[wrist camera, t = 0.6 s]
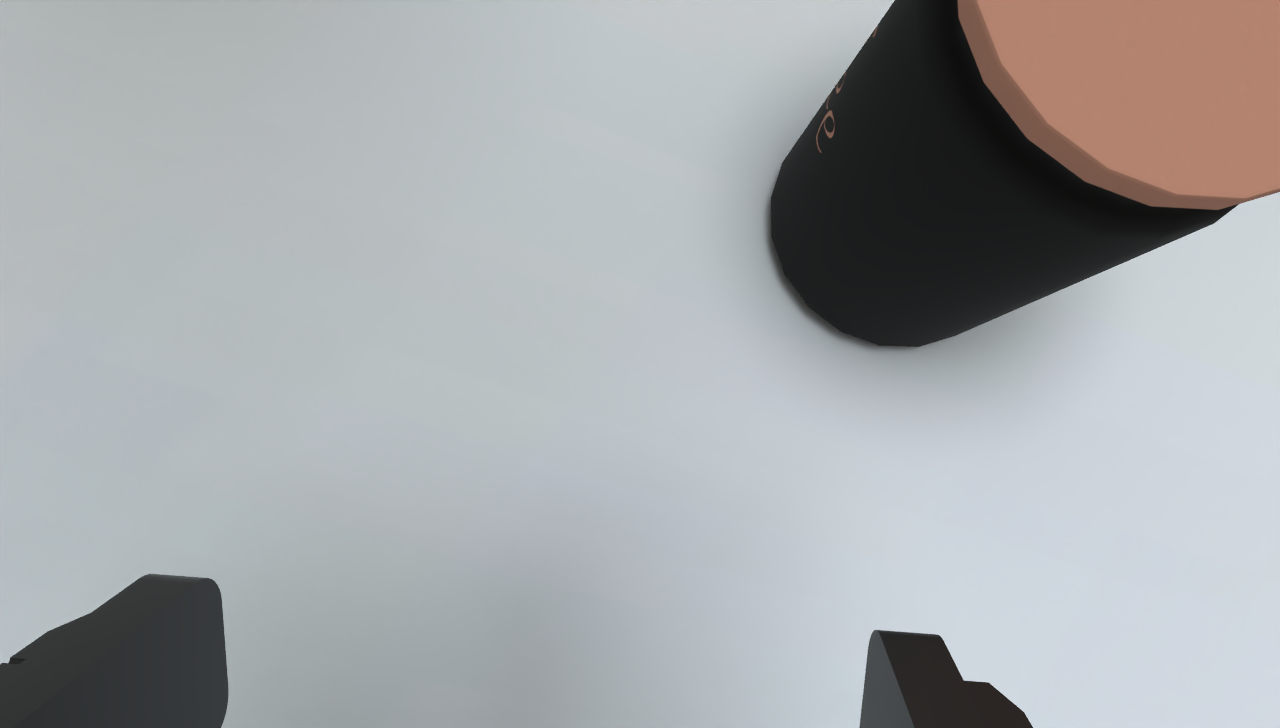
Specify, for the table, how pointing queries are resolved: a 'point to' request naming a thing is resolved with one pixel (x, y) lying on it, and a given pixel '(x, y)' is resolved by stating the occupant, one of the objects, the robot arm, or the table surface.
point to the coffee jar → (1022, 154)
